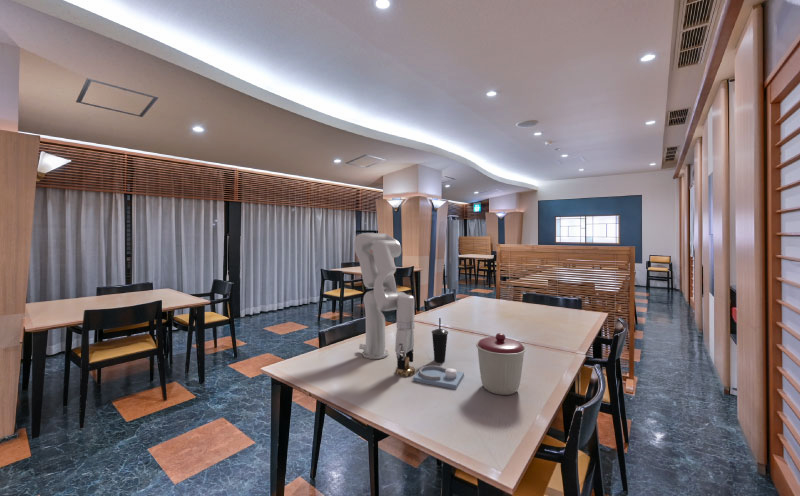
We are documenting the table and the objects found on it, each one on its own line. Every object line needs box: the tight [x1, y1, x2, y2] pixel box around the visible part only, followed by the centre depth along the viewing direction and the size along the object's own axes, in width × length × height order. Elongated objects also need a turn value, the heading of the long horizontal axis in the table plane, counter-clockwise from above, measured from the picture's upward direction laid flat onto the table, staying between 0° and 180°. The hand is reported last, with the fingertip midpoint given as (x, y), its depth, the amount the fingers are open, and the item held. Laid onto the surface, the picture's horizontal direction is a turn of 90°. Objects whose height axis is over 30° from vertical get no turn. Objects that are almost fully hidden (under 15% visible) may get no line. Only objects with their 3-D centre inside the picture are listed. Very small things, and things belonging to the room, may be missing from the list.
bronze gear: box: [395, 355, 416, 377], centre depth 138 cm, size 8×8×6 cm
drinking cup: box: [431, 317, 449, 364], centre depth 151 cm, size 8×8×20 cm
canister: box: [475, 332, 527, 396], centre depth 123 cm, size 18×18×21 cm
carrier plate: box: [412, 365, 465, 390], centre depth 132 cm, size 18×13×4 cm
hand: (405, 365), depth 138 cm, fingers open, 8 cm apart
